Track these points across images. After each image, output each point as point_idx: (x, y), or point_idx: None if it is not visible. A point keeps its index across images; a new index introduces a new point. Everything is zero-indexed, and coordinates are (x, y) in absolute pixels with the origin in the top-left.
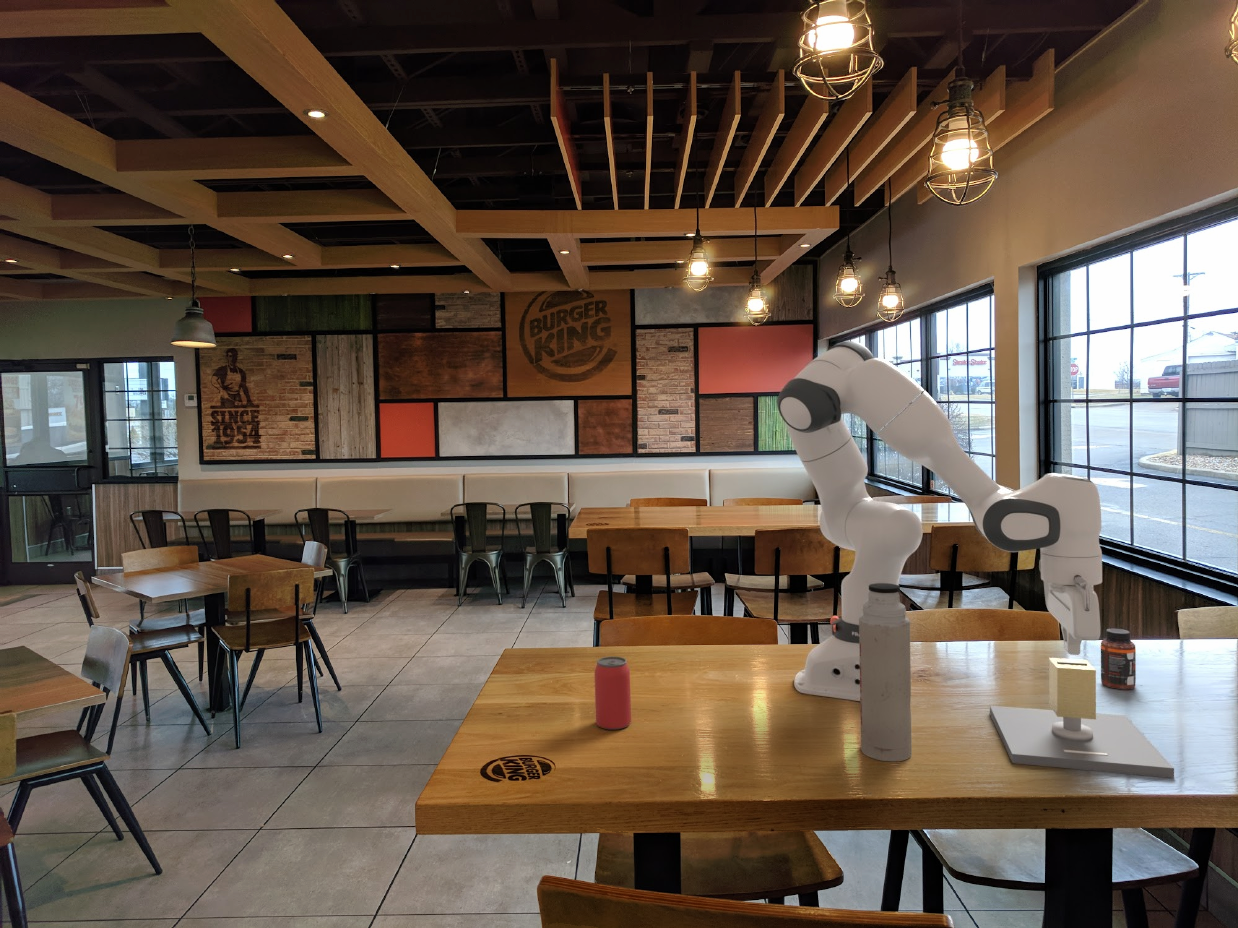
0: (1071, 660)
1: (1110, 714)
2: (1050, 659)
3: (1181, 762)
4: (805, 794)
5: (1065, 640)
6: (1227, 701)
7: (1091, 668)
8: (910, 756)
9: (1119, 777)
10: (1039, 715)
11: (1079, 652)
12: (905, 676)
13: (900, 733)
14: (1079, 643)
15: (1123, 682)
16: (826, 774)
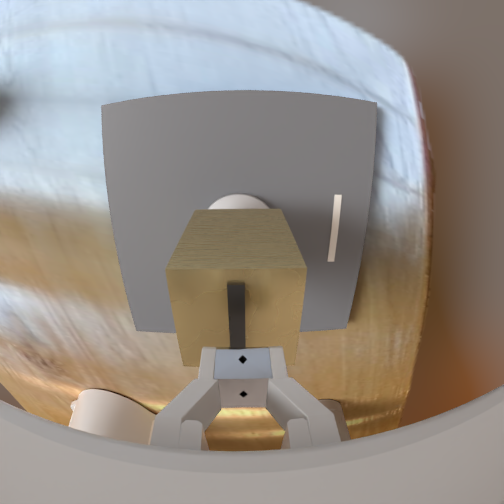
0: (190, 317)
1: (103, 133)
2: (199, 366)
3: (296, 59)
4: (392, 427)
5: (222, 405)
6: None
7: (288, 277)
8: (328, 399)
9: (379, 188)
10: (153, 266)
11: (282, 350)
12: None
13: (346, 426)
14: (295, 384)
15: None
16: (364, 429)
